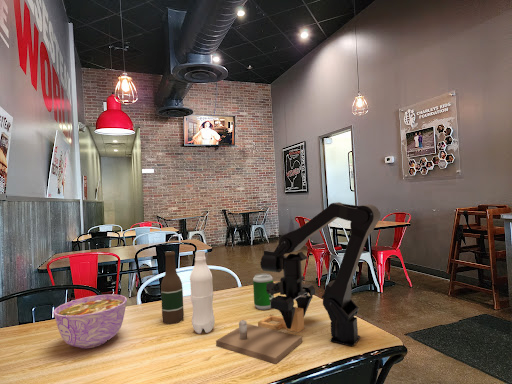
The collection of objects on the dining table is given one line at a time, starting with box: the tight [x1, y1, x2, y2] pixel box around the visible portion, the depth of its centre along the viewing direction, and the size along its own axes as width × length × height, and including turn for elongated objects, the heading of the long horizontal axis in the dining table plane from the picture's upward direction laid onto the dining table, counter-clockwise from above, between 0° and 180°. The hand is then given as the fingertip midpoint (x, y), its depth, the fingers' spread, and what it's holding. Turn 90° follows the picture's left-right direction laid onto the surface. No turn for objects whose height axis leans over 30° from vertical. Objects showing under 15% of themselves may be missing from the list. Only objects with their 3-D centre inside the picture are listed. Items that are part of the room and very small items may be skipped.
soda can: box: [252, 273, 275, 311], centre depth 122 cm, size 8×8×12 cm
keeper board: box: [215, 319, 303, 365], centre depth 91 cm, size 20×14×7 cm
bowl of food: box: [52, 294, 128, 349], centre depth 98 cm, size 20×20×12 cm
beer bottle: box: [160, 250, 185, 325], centre depth 113 cm, size 8×8×24 cm
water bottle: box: [189, 250, 216, 334], centre depth 103 cm, size 7×7×25 cm
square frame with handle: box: [257, 306, 305, 333], centre depth 103 cm, size 14×7×6 cm, turn 54°
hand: (295, 323), depth 100 cm, fingers open, 8 cm apart
